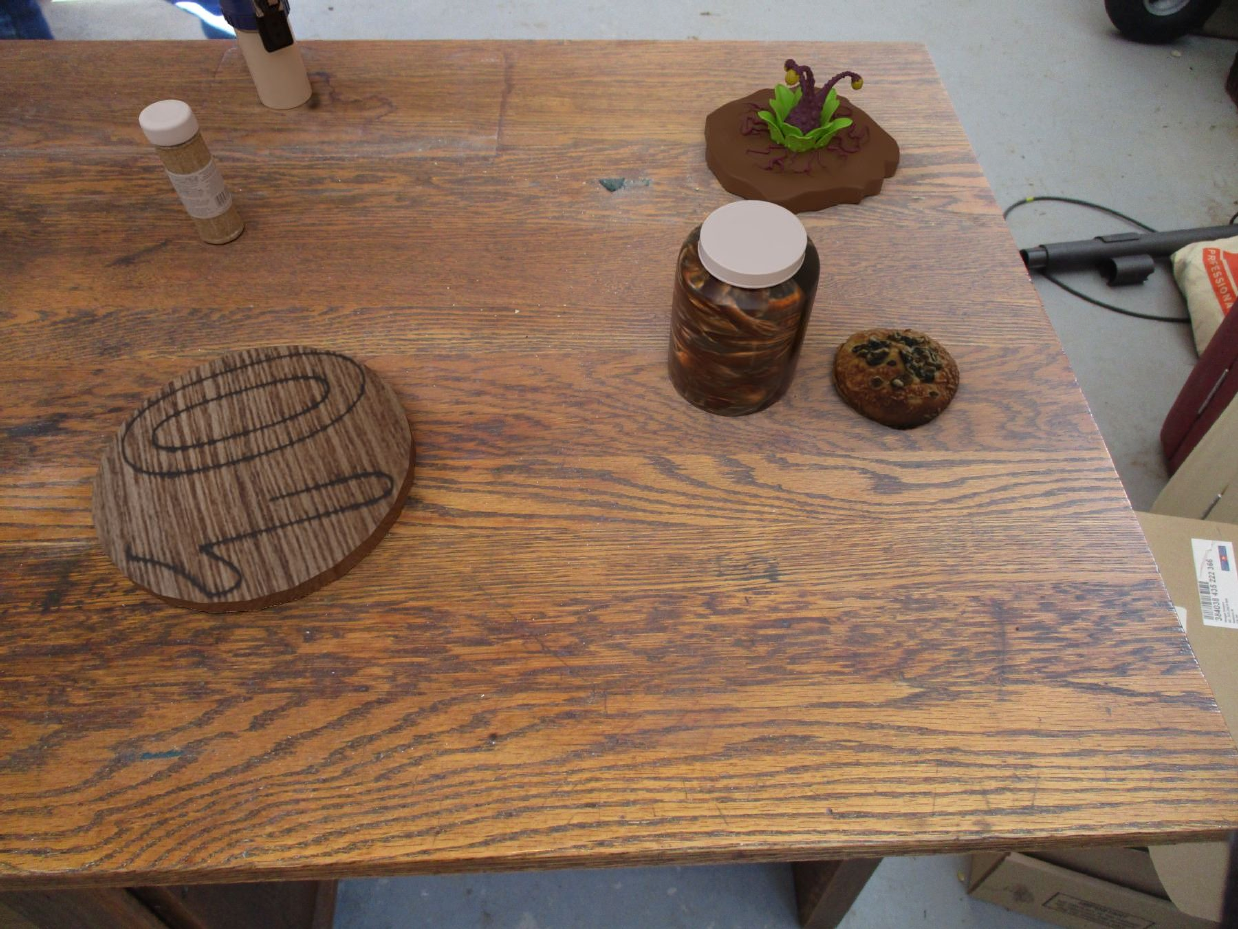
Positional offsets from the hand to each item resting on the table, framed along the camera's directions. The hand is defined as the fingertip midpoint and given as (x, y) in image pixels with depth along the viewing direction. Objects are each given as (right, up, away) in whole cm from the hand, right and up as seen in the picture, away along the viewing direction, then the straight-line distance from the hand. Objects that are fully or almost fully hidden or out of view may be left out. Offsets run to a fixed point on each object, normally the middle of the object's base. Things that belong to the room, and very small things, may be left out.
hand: (264, 31), depth 92 cm
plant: (+59, -14, 0) cm, 60 cm away
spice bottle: (-1, -24, -7) cm, 25 cm away
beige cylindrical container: (0, -4, +6) cm, 8 cm away
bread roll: (+64, -41, -18) cm, 78 cm away
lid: (0, +2, -3) cm, 3 cm away
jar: (+50, -39, -17) cm, 66 cm away
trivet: (+10, -49, -24) cm, 55 cm away
